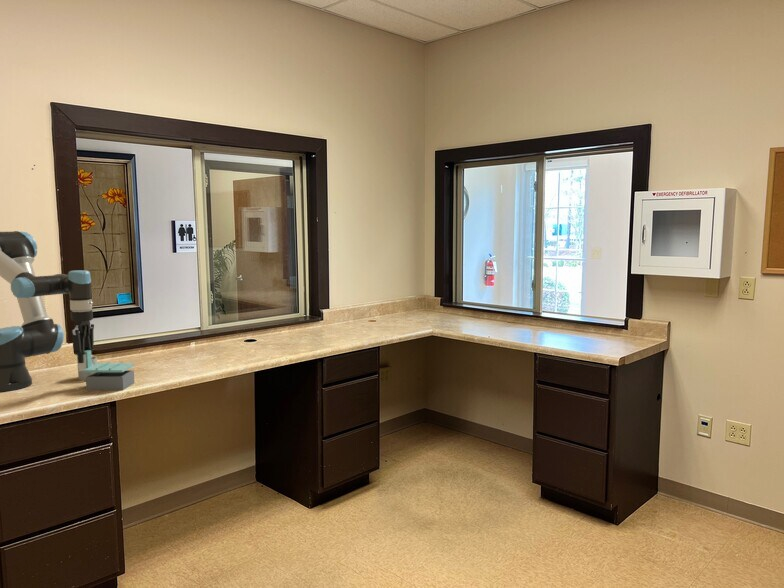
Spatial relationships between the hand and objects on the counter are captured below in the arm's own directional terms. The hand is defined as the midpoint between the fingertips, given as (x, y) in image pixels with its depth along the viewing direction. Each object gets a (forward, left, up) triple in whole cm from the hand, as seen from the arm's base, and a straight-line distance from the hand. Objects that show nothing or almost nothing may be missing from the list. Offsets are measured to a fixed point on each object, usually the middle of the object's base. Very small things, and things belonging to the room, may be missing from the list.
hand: (85, 369), depth 221 cm
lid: (+7, 0, 0) cm, 8 cm away
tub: (+10, 0, -8) cm, 13 cm away
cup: (-5, +13, -8) cm, 16 cm away
